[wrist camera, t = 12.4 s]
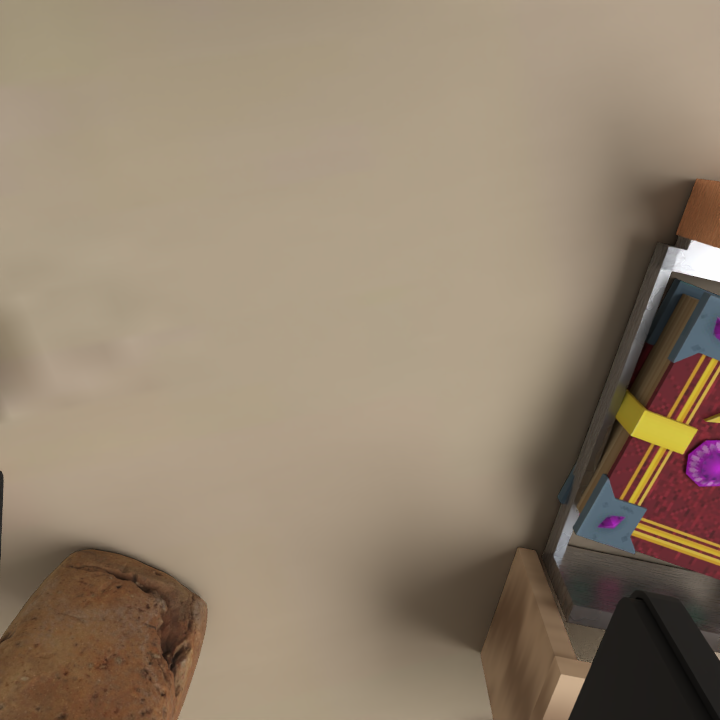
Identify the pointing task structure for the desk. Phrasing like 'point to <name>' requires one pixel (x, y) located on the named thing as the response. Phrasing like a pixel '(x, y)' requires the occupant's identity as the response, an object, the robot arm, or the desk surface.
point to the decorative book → (665, 444)
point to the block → (102, 643)
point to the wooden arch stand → (530, 649)
